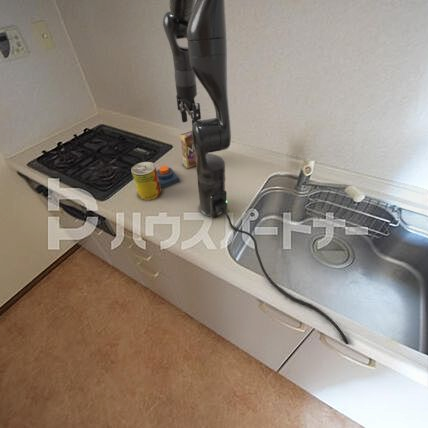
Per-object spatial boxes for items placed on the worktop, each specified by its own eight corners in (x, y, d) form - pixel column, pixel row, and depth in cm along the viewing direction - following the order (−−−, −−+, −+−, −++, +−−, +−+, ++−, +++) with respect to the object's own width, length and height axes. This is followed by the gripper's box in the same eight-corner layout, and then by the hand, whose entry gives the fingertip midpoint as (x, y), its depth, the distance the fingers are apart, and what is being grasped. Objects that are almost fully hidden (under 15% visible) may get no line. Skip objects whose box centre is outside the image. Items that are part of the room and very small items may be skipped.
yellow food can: (157, 200, 93) (150, 175, 85) (135, 199, 94) (127, 174, 86) (164, 186, 99) (158, 162, 91) (143, 185, 101) (136, 160, 92)
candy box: (187, 169, 108) (184, 137, 97) (183, 165, 110) (179, 134, 100) (204, 162, 111) (202, 131, 100) (199, 158, 114) (197, 128, 103)
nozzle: (171, 172, 100) (170, 168, 99) (162, 176, 99) (161, 172, 97) (166, 168, 102) (165, 164, 101) (158, 171, 101) (157, 167, 100)
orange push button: (179, 181, 101) (178, 173, 99) (162, 188, 99) (161, 180, 96) (169, 170, 108) (167, 163, 105) (152, 177, 105) (150, 169, 102)
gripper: (167, 79, 89) (173, 122, 101) (186, 89, 81) (191, 134, 92) (185, 75, 92) (189, 117, 103) (205, 84, 83) (207, 128, 95)
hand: (190, 125), depth 98 cm, fingers open, 8 cm apart
